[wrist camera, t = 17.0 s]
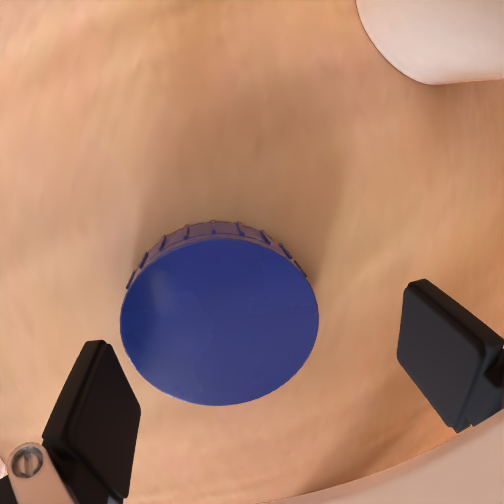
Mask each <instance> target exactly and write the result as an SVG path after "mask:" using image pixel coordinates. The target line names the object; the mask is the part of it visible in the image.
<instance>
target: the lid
mask: <svg viewBox="0 0 504 504" xmlns="http://www.w3.org/2000/svg"><path fill="white" fill-rule="evenodd" d="M291 258H292V256H291V255H290V254H289V252H288V251H287V250H286V248H285V247H284V246H283V245H282V244H281V243H280V244H278V243H277V242H275V241H274V240H273V239H272V238H270V237H269V236H267V235H266V234H265V232H264V231H263V230H261V231H258V230H255V229H253V228H251V227H247V226H244V225H241V223H240V222H237V223H236V224H235V223H228V222H214V220H211V222H208V223H200V224H196V225H192V226H189V225H188V224H187V225H185V228H183V229H180V230H178V231H176V232H174V233H172V234H170V235H169V236H167V237H166V236H165V235H164V236H163V237H162V239H161V241H160V242H159V243H157V244H156V245H155V246H154V247H153V248H152V249H151V250H150V251H149V252H147V251H146V252H145V253H144V256H143V258H142V260H141V262H140V264H139V266H138V269H137V271H134V272H133V274H132V276H131V278H130V280H129V282H128V284H127V287H126V289H128V290H127V293H126V295H125V298H124V301H123V304H122V307H121V314H120V333H121V338H122V342H123V345H124V348H125V351H126V353H127V355H128V357H129V359H130V361H131V363H132V364H133V366H134V367H135V368H136V370H137V371H138V372H139V373H140V374H141V375H142V376H143V378H144V379H146V380H147V381H148V382H149V383H150V384H152V385H153V386H154V387H156V388H157V389H159V390H160V391H162V392H164V393H166V394H168V395H170V396H172V397H174V398H177V399H179V400H182V401H186V402H189V403H194V404H200V405H209V406H225V405H234V404H240V403H244V402H248V401H251V400H254V399H257V398H260V397H262V396H264V395H266V394H269V393H270V392H272V391H274V390H276V389H277V388H279V387H280V386H282V385H283V384H284V383H286V382H287V381H288V380H289V379H290V378H292V377H293V376H294V375H295V374H296V373H297V372H298V370H299V369H300V368H301V367H302V366H303V364H304V363H305V361H306V360H307V358H308V357H309V355H310V353H311V351H312V349H313V346H314V343H315V340H316V337H317V332H318V325H319V313H318V305H317V301H316V298H315V294H314V292H313V290H312V288H311V286H310V284H309V282H308V281H307V279H306V277H307V276H306V274H305V273H304V271H303V270H302V269H301V267H300V266H299V265H298V264H297V262H296V261H293V260H292V259H291Z"/></svg>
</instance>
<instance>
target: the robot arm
mask: <svg viewBox="0 0 504 504" xmlns="http://www.w3.org/2000/svg"><path fill="white" fill-rule="evenodd" d="M503 345H504V339H503V338H501V337H500V336H499V335H498V334H497V333H495V332H494V331H493V330H492V329H491V328H489V327H488V326H487V325H486V324H484V323H483V322H482V321H481V320H479V319H478V318H477V317H476V316H474V315H473V314H472V313H470V312H469V311H468V310H467V309H465V308H464V307H463V306H461V305H460V304H459V303H458V302H456V301H455V300H454V299H452V298H451V297H450V296H448V295H447V294H446V293H444V292H443V291H442V290H440V289H439V288H438V287H436V286H435V285H434V284H432V283H431V282H429V281H428V280H426V279H421V280H417V281H414V282H410V283H409V284H408V286H407V288H406V289H405V290H404V294H403V306H402V315H401V324H400V333H399V340H398V348H397V359H398V361H399V363H400V364H401V366H402V367H403V368H404V370H405V371H406V372H407V373H408V375H409V376H410V377H411V379H412V380H413V381H414V383H415V384H416V385H417V386H418V388H419V389H420V390H421V392H422V393H423V394H424V396H425V397H426V398H427V400H428V401H429V402H430V404H431V405H432V406H433V408H434V409H435V410H436V412H437V413H438V414H439V416H440V417H441V418H442V420H443V421H444V422H445V424H446V425H447V426H448V427H452V428H453V429H454V430H455V432H456V433H459V432H461V431H463V430H464V429H466V428H468V427H470V425H471V424H472V426H473V427H472V428H471V429H469V430H467V431H465V432H464V433H462V434H460V435H458V436H456V437H454V438H453V439H451V440H449V441H447V442H445V443H443V444H441V445H439V446H437V447H435V448H433V449H431V450H429V451H427V452H424V453H422V454H420V455H418V456H416V457H413V458H411V459H409V460H407V461H404V462H402V463H399V464H397V465H395V466H392V467H389V468H387V469H384V470H382V471H379V472H376V473H374V474H371V475H368V476H365V477H362V478H359V479H356V480H353V481H350V482H347V483H344V484H340V485H337V486H334V487H330V488H327V489H323V490H319V491H315V492H311V493H307V494H303V495H299V496H294V497H290V498H285V499H280V500H274V501H269V502H263V503H257V504H504V349H503ZM140 416H141V409H140V405H139V403H138V401H137V399H136V397H135V395H134V393H133V391H132V389H131V387H130V385H129V383H128V380H127V378H126V376H125V374H124V372H123V370H122V368H121V365H120V363H119V361H118V359H117V356H116V354H115V352H114V350H113V347H112V346H111V344H107V343H106V342H105V341H104V340H95V341H87V342H86V343H85V344H84V346H83V348H82V350H81V352H80V354H79V356H78V358H77V360H76V362H75V364H74V366H73V368H72V370H71V372H70V374H69V376H68V378H67V380H66V382H65V384H64V387H63V389H62V391H61V393H60V395H59V397H58V400H57V402H56V404H55V406H54V408H53V411H52V413H51V415H50V418H49V420H48V422H47V425H46V427H45V429H44V432H43V434H42V438H43V439H44V440H43V443H42V445H40V444H39V443H34V442H29V443H24V444H22V445H20V446H18V447H17V448H15V449H14V450H13V452H12V453H11V454H10V456H9V458H8V460H7V465H6V466H7V473H8V475H7V476H5V477H3V478H1V479H0V504H123V499H124V498H127V497H128V494H129V487H130V479H131V472H132V465H133V458H134V452H135V445H136V439H137V433H138V427H139V422H140Z"/></svg>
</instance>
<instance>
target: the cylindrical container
mask: <svg viewBox="0 0 504 504" xmlns="http://www.w3.org/2000/svg"><path fill="white" fill-rule="evenodd" d="M4 471H5V465H4V462H3V461H2V459H1V458H0V479H1V478H2V477H3V474H4Z"/></svg>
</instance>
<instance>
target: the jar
mask: <svg viewBox="0 0 504 504" xmlns="http://www.w3.org/2000/svg"><path fill="white" fill-rule="evenodd" d="M356 5H357V10H358V13H359V17H360V20H361V22H362V24H363V27H364V29H365V30H366V32H367V34H368V36H369V38H370V39H371V41H372V42H373V44H374V45H375V46H376V48H377V49H378V50H379V52H380V53H381V54H382V55H383V56H384V57H385V58H386V59H387V60H388V61H389V62H390V63H391V64H392V65H393V66H394V67H395V68H397V69H398V70H399V71H400V72H402V73H403V74H405V75H407V76H408V77H410V78H412V79H414V80H416V81H418V82H421V83H424V84H429V85H444V84H452V83H462V82H473V81H486V80H503V79H504V0H356Z"/></svg>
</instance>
